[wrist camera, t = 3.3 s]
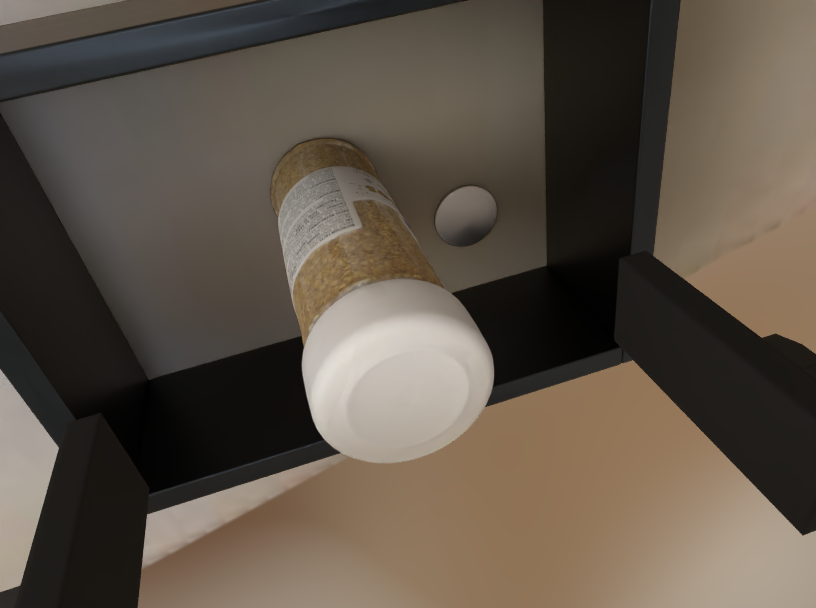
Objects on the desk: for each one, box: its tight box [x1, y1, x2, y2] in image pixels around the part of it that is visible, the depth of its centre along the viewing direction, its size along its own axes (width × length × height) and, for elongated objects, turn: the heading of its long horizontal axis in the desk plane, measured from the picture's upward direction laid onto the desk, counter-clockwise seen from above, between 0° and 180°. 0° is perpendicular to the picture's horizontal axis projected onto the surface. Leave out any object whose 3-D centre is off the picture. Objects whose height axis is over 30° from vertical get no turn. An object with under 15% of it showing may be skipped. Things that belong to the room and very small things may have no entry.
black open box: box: [0, 0, 681, 514], centre depth 22 cm, size 22×16×7 cm
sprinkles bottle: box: [270, 138, 494, 463], centre depth 19 cm, size 5×5×13 cm
